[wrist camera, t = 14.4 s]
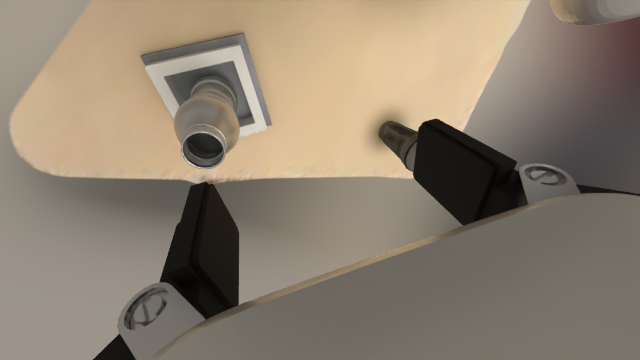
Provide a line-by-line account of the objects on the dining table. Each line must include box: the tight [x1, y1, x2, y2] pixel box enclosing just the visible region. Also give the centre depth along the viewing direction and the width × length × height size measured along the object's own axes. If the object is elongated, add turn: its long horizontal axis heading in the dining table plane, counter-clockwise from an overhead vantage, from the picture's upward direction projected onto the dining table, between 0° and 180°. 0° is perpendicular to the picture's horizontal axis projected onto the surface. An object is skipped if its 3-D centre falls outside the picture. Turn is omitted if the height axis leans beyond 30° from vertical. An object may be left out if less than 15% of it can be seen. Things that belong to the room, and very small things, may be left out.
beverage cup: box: [379, 121, 418, 172], centre depth 43 cm, size 7×7×20 cm
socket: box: [141, 34, 272, 137], centre depth 35 cm, size 14×14×5 cm
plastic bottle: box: [174, 75, 240, 169], centre depth 28 cm, size 6×7×20 cm
